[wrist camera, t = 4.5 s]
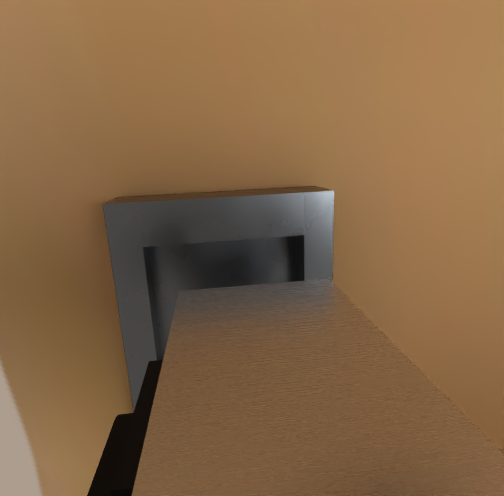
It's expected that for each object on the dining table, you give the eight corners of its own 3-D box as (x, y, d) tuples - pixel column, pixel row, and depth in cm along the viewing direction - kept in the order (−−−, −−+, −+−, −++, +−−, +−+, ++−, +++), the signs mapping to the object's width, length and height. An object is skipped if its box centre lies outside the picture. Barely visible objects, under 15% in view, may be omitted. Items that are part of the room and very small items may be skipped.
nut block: (328, 278, 12) (578, 530, 4) (327, 405, 13) (513, 794, 5) (178, 291, 11) (105, 608, 3) (192, 421, 13) (161, 882, 5)
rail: (314, 185, 17) (333, 190, 14) (313, 538, 22) (327, 584, 20) (117, 197, 16) (102, 204, 13) (168, 565, 21) (164, 617, 19)
